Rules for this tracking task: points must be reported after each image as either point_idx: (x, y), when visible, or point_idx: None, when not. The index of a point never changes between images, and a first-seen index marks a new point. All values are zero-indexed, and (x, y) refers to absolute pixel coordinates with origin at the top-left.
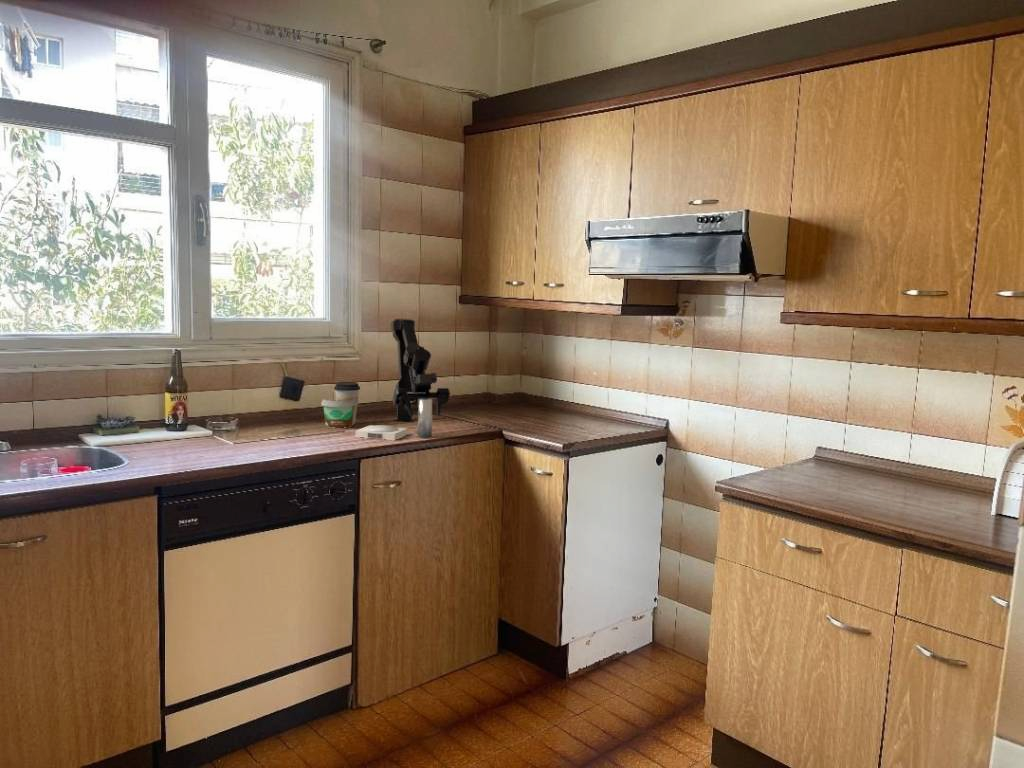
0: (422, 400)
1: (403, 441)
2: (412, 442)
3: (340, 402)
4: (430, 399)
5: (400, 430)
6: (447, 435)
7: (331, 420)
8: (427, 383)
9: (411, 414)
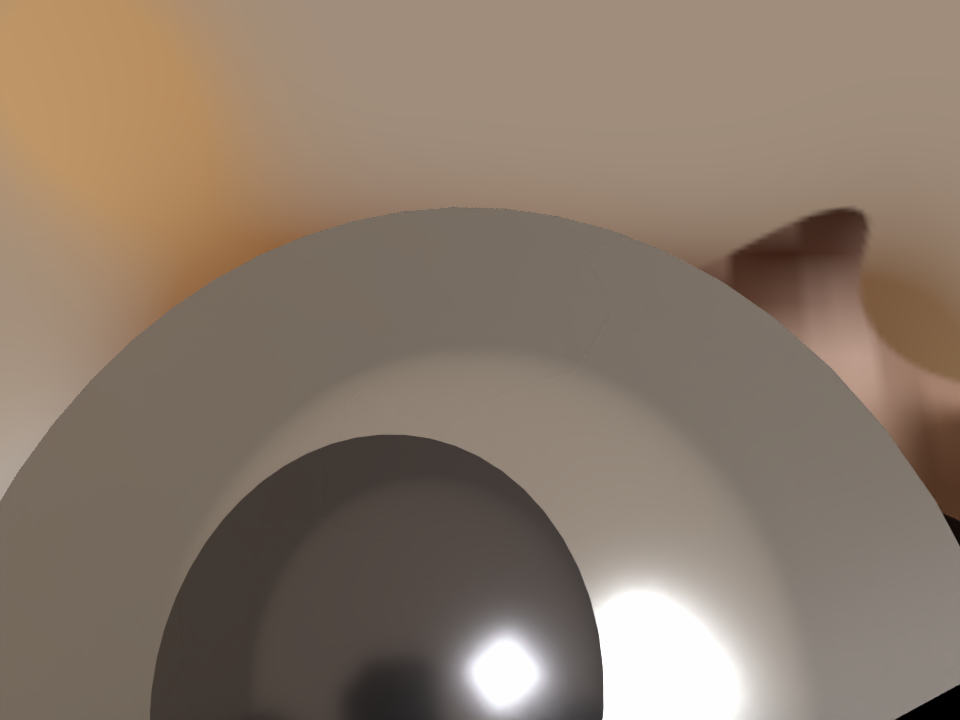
0: (635, 258)
1: (871, 353)
2: (748, 298)
3: None
4: (105, 489)
5: None
6: None
7: None
8: None
9: (957, 534)
